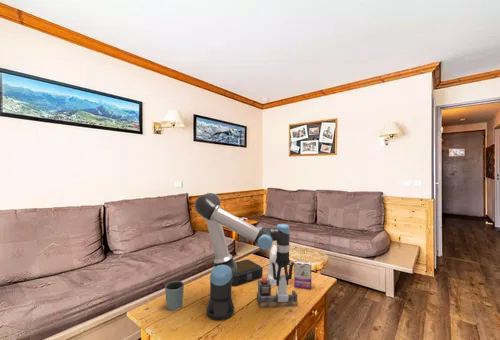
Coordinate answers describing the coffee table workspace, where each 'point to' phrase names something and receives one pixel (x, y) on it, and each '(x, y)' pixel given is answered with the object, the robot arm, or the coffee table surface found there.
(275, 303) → the slide rail
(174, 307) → the grey cup
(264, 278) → the button
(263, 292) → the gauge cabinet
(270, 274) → the decorative vase
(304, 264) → the candy bar box
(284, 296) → the carriage
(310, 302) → the coffee table surface
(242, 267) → the cash box
